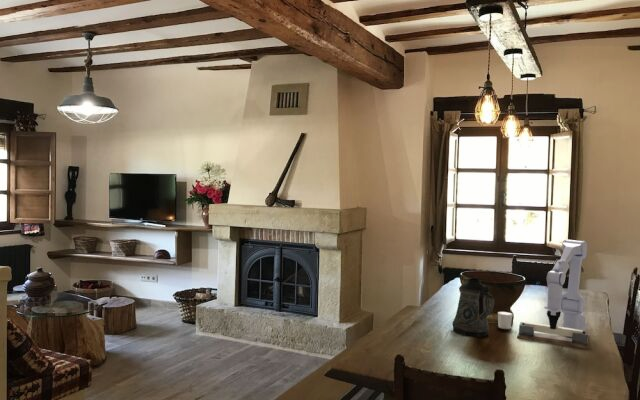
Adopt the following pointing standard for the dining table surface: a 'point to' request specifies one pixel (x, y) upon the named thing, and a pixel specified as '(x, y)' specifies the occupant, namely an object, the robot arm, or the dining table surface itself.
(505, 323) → the white cylinder
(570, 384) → the dining table surface
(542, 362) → the dining table surface
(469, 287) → the beer stein
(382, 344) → the dining table surface
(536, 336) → the frame board
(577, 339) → the end caps
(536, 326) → the slat
